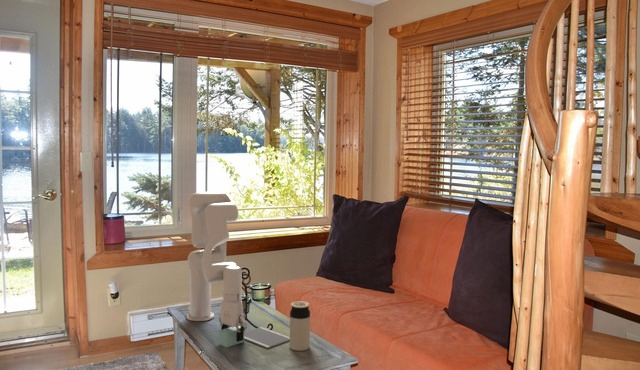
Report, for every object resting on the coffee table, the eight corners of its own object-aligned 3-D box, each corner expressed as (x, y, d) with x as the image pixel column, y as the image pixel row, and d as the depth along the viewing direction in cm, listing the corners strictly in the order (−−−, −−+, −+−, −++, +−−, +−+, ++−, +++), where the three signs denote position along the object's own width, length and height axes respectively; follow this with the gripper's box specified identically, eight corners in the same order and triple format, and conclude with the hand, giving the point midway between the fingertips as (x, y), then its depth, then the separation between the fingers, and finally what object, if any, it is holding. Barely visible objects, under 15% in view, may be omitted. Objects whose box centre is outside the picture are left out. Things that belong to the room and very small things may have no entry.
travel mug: (294, 352, 218) (295, 307, 217) (286, 345, 225) (286, 302, 224) (312, 349, 222) (313, 305, 220) (304, 342, 229) (304, 300, 227)
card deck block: (219, 344, 226) (219, 330, 225) (237, 339, 232) (237, 324, 232) (226, 347, 223) (226, 332, 222) (244, 341, 229) (244, 327, 229)
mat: (235, 336, 235) (235, 334, 235) (260, 328, 245) (260, 326, 245) (267, 348, 222) (267, 347, 222) (292, 339, 232) (292, 338, 232)
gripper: (211, 294, 229) (212, 335, 230) (238, 302, 217) (238, 345, 218) (226, 291, 234) (226, 330, 236) (253, 299, 223) (253, 340, 224)
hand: (232, 338), depth 227 cm, fingers open, 9 cm apart
